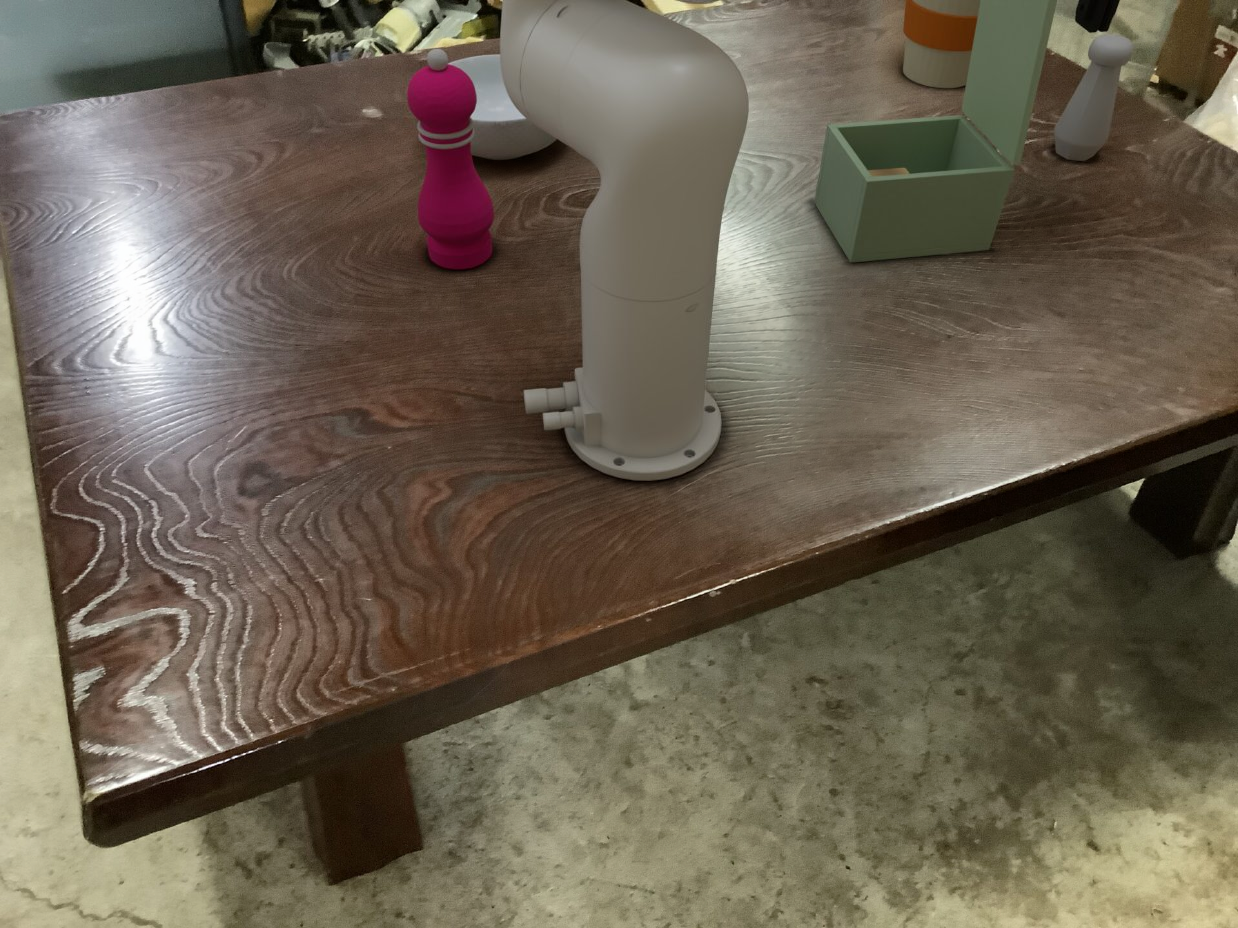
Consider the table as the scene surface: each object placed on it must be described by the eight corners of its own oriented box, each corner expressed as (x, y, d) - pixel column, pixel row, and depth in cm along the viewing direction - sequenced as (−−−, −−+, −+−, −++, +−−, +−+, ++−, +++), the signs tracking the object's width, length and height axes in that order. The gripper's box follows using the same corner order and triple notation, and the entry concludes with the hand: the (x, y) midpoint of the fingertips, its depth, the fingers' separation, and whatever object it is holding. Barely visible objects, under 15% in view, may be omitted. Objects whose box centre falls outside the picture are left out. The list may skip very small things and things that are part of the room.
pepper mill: (444, 281, 93) (415, 74, 79) (411, 246, 98) (379, 44, 84) (510, 258, 96) (494, 55, 82) (476, 225, 101) (455, 26, 86)
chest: (850, 263, 96) (867, 181, 90) (813, 203, 104) (827, 124, 98) (989, 250, 98) (1015, 169, 92) (942, 192, 106) (963, 114, 100)
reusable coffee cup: (950, 103, 122) (983, -24, 111) (869, 71, 128) (893, -52, 118) (1005, 75, 128) (1042, -48, 117) (925, 46, 135) (953, -73, 124)
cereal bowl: (408, 172, 108) (398, 110, 103) (452, 106, 120) (446, 48, 115) (557, 187, 106) (555, 125, 101) (588, 119, 118) (587, 60, 113)
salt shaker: (1103, 167, 111) (1148, 52, 101) (1050, 162, 111) (1090, 47, 102) (1096, 143, 115) (1138, 30, 106) (1045, 138, 116) (1083, 26, 106)
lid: (1050, -6, 81) (1059, -7, 81) (989, -52, 89) (997, -53, 89) (1012, 166, 92) (1020, 164, 92) (961, 111, 100) (968, 109, 100)
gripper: (1107, -198, 73) (1033, 49, 86) (1287, -205, 75) (1188, 37, 88) (1058, -219, 78) (996, 16, 91) (1228, -226, 80) (1143, 6, 93)
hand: (1090, 26), depth 90 cm, fingers closed
